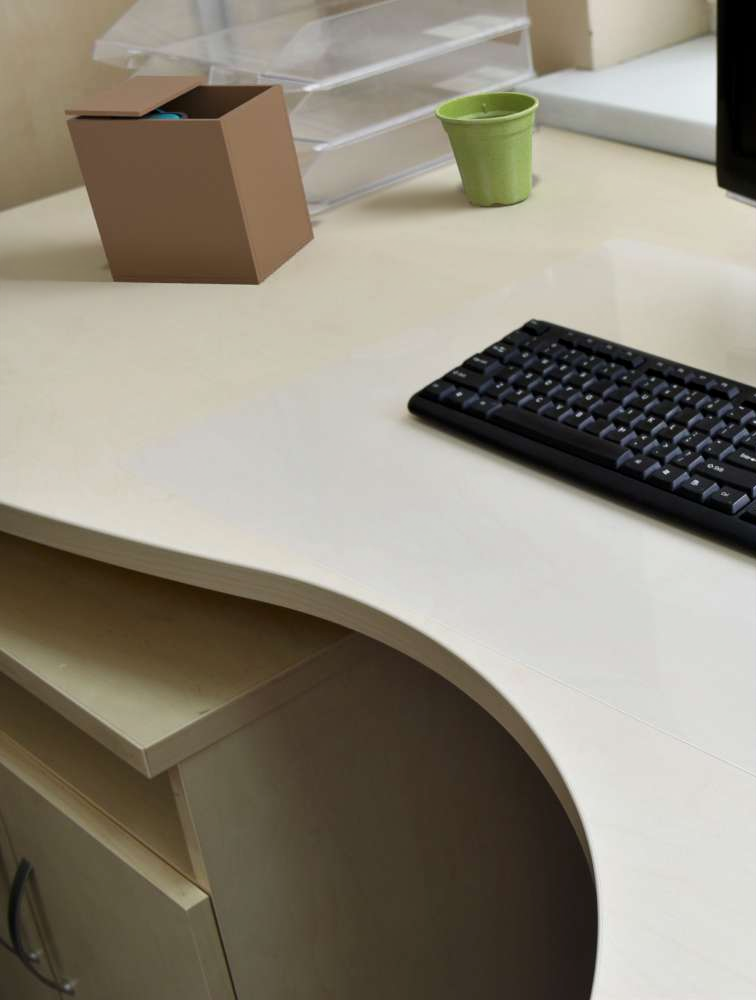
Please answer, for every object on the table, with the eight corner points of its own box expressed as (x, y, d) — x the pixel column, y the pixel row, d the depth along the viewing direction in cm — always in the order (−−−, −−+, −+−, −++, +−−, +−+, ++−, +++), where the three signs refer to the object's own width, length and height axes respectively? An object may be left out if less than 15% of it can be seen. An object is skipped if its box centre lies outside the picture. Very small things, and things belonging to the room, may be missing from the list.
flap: (65, 115, 108) (63, 110, 107) (138, 80, 117) (136, 75, 117) (140, 116, 107) (139, 111, 107) (207, 81, 116) (206, 76, 116)
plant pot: (496, 220, 124) (482, 124, 120) (428, 202, 129) (413, 109, 125) (569, 192, 130) (559, 100, 126) (502, 175, 136) (490, 86, 131)
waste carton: (113, 282, 115) (65, 120, 108) (178, 236, 124) (138, 84, 117) (259, 284, 113) (220, 120, 106) (314, 237, 122) (282, 84, 115)
